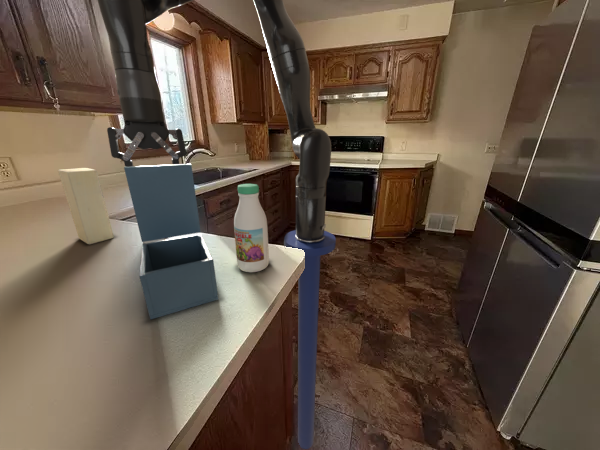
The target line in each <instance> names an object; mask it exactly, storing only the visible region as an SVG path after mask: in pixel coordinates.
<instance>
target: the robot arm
mask: <svg viewBox="0 0 600 450" xmlns="http://www.w3.org/2000/svg"><path fill="white" fill-rule="evenodd" d="M193 1H194V0H97V3H98V6H99V10H100V14H101V18H102V20H103V24H104V27H105V30H106V33H107V37H108V43H109V49H110V55H111V59H112V65H113V68H114V75H115V84H116V93H117V96H118V100H119V105H120V108H121V114H122V119H123V123H124V126H123V128H117V127H111V126H109V127H107V129H106V132H107V137H108V145H109V148H110V155H111V157H112V158H113V159H119V160H121V161H122V162H123V163H124V167H131V166H134V162H133V160H132V156H133V154H134V153H135V152H136V150H137V148H138V149H141V150H149V149H153V150H159V149H161V148H162V149H163V150H165V152H166V153H168V155H170V156H171V165H177V164H180V159H181V158H183V157H185V156H187V149H186V145H185V141H184V136H183V131H182V129H180V128H176V129H168V128H167V125H166V120H165V115H164V108H163V102H162V95H161V91H160V90H161V89H160V86H159V83H158V78H157V75H156V68H155V63H154V57H153V52H152V48H151V46H150V41H149V38H148V37H149V36H148V30H147V29H148V28H147V25H148V24H150V23H152V22H153V21H154V20H156V19H157V18H159V17H160V16H162V15H164V14H165V13H166V12H168V11H169V10H171V9H175V8H178V7H180V6H183V5H186V4H189V3H191V2H193ZM252 1H253V4H254V6H255V9H256V13H257V16H258V20H259V23H260V27H261V30H262V34H263V38H264V42H265V46H266V49H267V53H268V57H269V58H268V59H269V61H270V64H271V65H270V66H271V68H272V72H273V75H274V79H275V82H276V85H277V88H278V92H279V96H280V99H281V102H282V106H283V108H284V111H285V114H286V118H287V119H286V120H287V123H288V129H289V133H290V134H289V135H290V141H291V146H292V150H293V152H294V154H295V156H296V158H298V159H299V168H298V169H299V170H298V173H297V175H296V176H295V230H296V235H295V238H296V240H298V241H299V242H302V243H319V242H321V241H323V240H324V231H325V229H326V228H327V227H326V225H327V224H326V204H327V203H326V201H327V183H328V182H327V181H328V179H329V176H330V170H331V159H332V142H331V138H330V136H329V134H328V133H327V132H326V131H325V130H323V129H322V128H316V125H315V122H314V118H313V114H312V110H311V109H312V108H311V70H310V64H309V60H308V55H307V51H306V45H305V42H304V39H303V37H302V35H301V34H300V31H299V29H298V28H297V27H296V25H295V23H294V22H293V20H292V19H291V17H290V15H289V14H288V11H287V8H286V5H285V2H284V0H252ZM122 135H124V136H125V137H126V138H128V139H129V141H130V142H131V143H130V144H129V145H128V147H127V149H126V151H125V152H124V153H123V152H120V147H119V141H118V140H120V139H121V138H122ZM170 135H171V137H172V138H173V139H174V140H176V142H177V147H178V151H176V152H175V150H174V149H173V148H172V147H171V146H170V145H169V144H168V143H167V142H166V141H167V140H168V137H169V136H170Z"/></svg>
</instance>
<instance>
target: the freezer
mask: <svg viewBox="0 0 600 450" xmlns="http://www.w3.org/2000/svg"><path fill="white" fill-rule="evenodd" d="M140 255H141V256H140V265H139V275H138V276H139V280H140V284H141V290H142V292H143V296H144V301H145V305H146V308H147V312H148V316H149V320H155V319H157V318H161V317H164V316H167V315H171V314H174V313H177V312H180V311H184V310H187V309H192V308H194V307H198V306H200V305H204V304H208V303H211V302H214V301H218V300H219V293H218V284H217V277H216V270H215V269H216V268H215V262H214V258H213V256H212V254H211V251H210V250H209V248H208V245H207V243H206V242H205V239H204V237H203V235H202V234H201V233H195V234H189V235H183V236H177V237H171V238H165V240H160V241H154V242H148V243H143V242H142V245H141V253H140Z"/></svg>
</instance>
